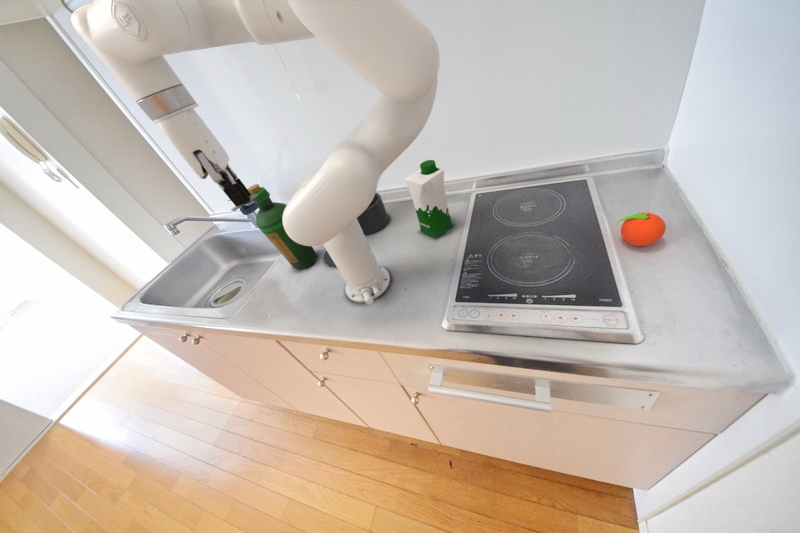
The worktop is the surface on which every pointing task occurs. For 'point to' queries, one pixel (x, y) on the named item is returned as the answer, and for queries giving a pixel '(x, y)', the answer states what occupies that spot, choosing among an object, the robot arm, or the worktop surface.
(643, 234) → the clementine
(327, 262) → the lid
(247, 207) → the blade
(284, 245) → the bottle
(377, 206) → the dark grey cup
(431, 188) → the milk carton
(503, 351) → the worktop surface
